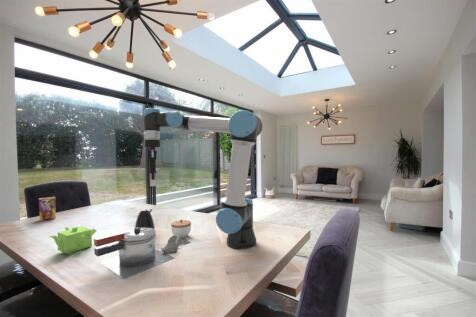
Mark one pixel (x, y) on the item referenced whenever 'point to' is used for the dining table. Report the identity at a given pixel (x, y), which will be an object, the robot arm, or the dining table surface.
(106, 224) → the dining table surface
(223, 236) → the dining table surface
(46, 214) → the candy box
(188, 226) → the lidded jar
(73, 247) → the kettle
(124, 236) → the lid
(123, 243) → the pot
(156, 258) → the trivet
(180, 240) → the goldfish
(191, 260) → the dining table surface
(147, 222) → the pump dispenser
